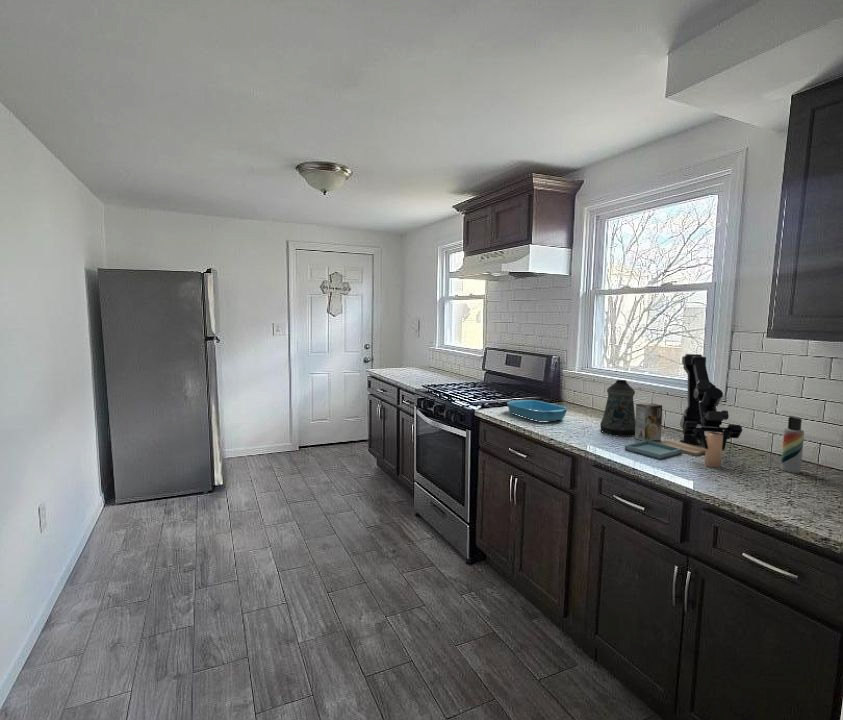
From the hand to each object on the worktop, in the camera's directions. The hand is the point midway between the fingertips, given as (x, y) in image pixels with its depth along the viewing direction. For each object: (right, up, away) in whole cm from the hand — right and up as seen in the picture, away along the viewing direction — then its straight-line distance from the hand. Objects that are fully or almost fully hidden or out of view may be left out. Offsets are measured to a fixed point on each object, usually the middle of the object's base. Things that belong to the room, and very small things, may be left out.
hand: (715, 449), depth 174 cm
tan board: (+1, -4, +24) cm, 24 cm away
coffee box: (-6, -3, +39) cm, 40 cm away
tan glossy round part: (0, -6, +2) cm, 7 cm away
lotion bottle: (+25, -7, -4) cm, 27 cm away
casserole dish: (-46, +1, +85) cm, 96 cm away
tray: (-14, -5, +19) cm, 24 cm away
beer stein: (-14, -2, +53) cm, 55 cm away
